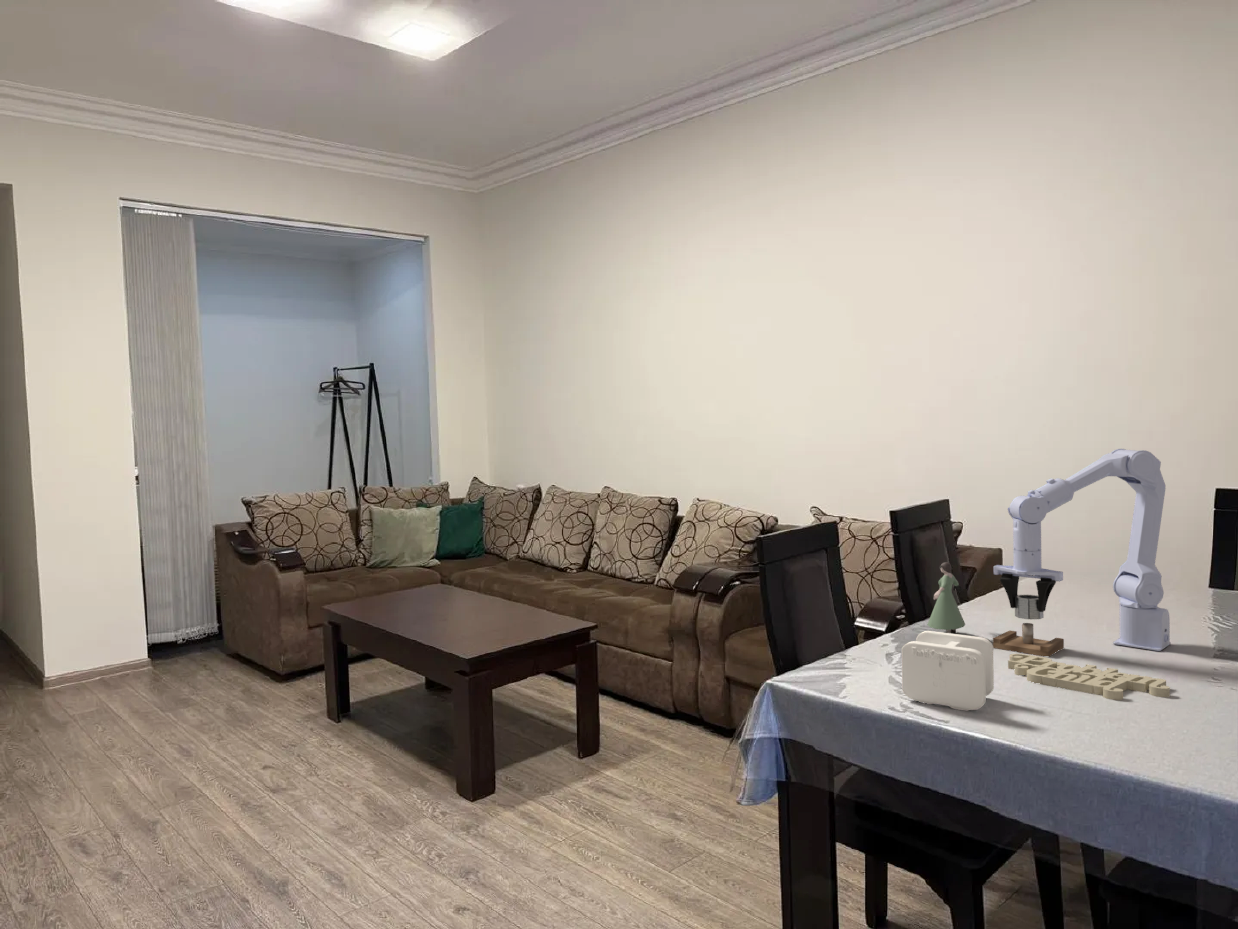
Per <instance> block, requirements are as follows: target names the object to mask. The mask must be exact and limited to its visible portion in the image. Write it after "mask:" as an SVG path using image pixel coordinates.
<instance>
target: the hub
mask: <svg viewBox="0 0 1238 929" xmlns="http://www.w3.org/2000/svg"><path fill="white" fill-rule="evenodd" d="M1014 617H1016V618H1018V619H1023V620H1041V619H1044V611H1043V612H1039V610H1038V594H1036V595H1035V594H1018V595H1017V596H1015V608H1014Z"/></svg>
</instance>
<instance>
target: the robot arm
mask: <svg viewBox="0 0 1238 929" xmlns="http://www.w3.org/2000/svg"><path fill="white" fill-rule="evenodd" d="M1161 463H1162V462H1161V460H1160V459H1158V458H1157V457H1156V456H1155V455H1154V454H1153V453H1152V452H1151V451H1149V450H1135V449H1125V448H1117V449H1114V450H1112V451H1111V452H1108V453H1105V454H1103V455H1101V457H1100V458H1098V459H1096V460H1095V461H1092V463H1090V464H1089V465H1087V466H1085V467H1083V468H1082V469H1080V470H1079V471H1077V472H1075V473H1073V474H1072V475H1070V476H1069V477H1066V479H1062V478H1059V477H1056V478H1052V477H1051V478H1049V479H1046V480H1045V482H1046V483H1045V484H1044V485H1041V486H1040V487H1038V488H1036V489H1030V490H1028V491H1027V494H1026V495H1018V496H1016V497H1014V498H1013V499H1012V501H1011V502H1010V504H1009V507H1007V512H1008V514H1009V516H1010V517H1011V518H1012V540H1013V541H1012V542H1013V543H1012V546H1013V547H1012V548H1013V549H1012V550H1013V551H1012V553H1013V563H1012V564H1013V565H1005V564H1001V565H1000V564H996V565H994V566H993V575H996V576H998V575H1001V577H999V581H1000V584H1001V585H1002V587H1003V588H1004V591H1005V593H1006V595H1007V598H1008V602H1009V606H1010V608H1011V609H1015V596H1017V595H1019V594H1018V589H1019V581H1020V580H1019V579H1020V577H1021V578H1031V579H1039V580H1036V581H1035V585H1036V589H1037V596H1038V610H1039V612H1043V613H1044V612H1046V609H1047V603H1048V600H1049V598H1050V595H1051V592H1052V591H1053V588H1054V586H1055V585H1056V583H1057V582H1059V583H1060V582H1061V581H1063V580H1064V572H1063V571H1059V570H1053V569H1049V568H1048V569H1047V568H1042V522H1043V521H1044V520H1045V518H1046V516H1047V514H1048V513H1050V512H1052V511H1054V510H1056V509H1058V508H1060V507H1061V506H1063V505H1064V504H1066V503H1069V502H1070V501H1072V500H1073V497H1074V495H1075V492H1078V491H1080V490H1082V489H1084V488H1086V487H1088V486H1090V485H1092V484H1094V483H1096V482H1098V481H1100V480H1103V479H1105V478H1107V477H1116V478H1118V479H1120V480H1122V481H1125V482H1126V483H1127V484H1128V485H1129V486H1130V487H1131V488H1132V489H1133V490H1134V491H1135V499H1134V505H1133V506H1134V507H1133V513H1132V521H1131V529H1130V536H1129V542H1128V550H1127V557H1126V560H1125V561H1124V562H1123V563H1122V564H1121V565H1120V566H1119V570H1118V574H1117V575H1116V577H1115V578H1114V580H1113V582H1112V588H1113V592H1114V595H1116V596H1117V597H1118V602H1119V604H1118V605H1119V638H1117V639H1116V640H1114V641H1113V642H1112V643H1113V645H1116V646H1123V647H1131V648H1136V649H1137V648H1138V649H1142V650H1143V649H1144V650H1151V651H1155V652H1160V651H1162V650H1164V649H1165V648H1167V647H1168V646H1170V645H1171V641H1170V639H1171V638H1170V627H1171V626H1170V623H1171V622H1170V618H1171V617H1170V613H1169V609H1167V608H1163V607H1159V606H1158V605H1159V604H1160V603H1161V602H1162V600H1163V598H1164V593H1165V592H1164V589H1163V584H1162V573H1160V570H1159V569H1158V567H1157V566H1156V561H1157V560H1156V559H1157V553H1158V552H1157V551H1158V546H1159V545H1158V544H1159V536H1160V529H1161V524H1162V517H1163V509H1164V501H1165V494H1166V483H1165V479H1164V477H1163V474H1162V471H1161V465H1162V464H1161Z"/></svg>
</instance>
